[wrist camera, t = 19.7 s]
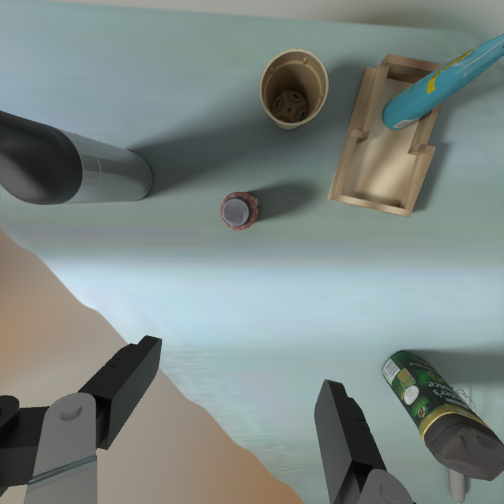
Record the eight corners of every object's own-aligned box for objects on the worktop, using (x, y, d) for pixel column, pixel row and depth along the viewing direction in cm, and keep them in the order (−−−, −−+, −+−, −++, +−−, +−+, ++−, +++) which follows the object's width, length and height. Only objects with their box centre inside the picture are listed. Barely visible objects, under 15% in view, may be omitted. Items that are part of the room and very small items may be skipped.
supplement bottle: (258, 190, 44) (254, 188, 33) (262, 222, 46) (259, 230, 35) (227, 194, 45) (212, 194, 34) (231, 225, 46) (219, 235, 35)
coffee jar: (436, 364, 49) (531, 460, 31) (413, 391, 51) (490, 497, 33) (395, 343, 49) (466, 429, 31) (374, 372, 51) (429, 468, 33)
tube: (409, 84, 38) (541, -23, 19) (425, 110, 38) (569, 30, 20) (368, 118, 39) (453, 49, 21) (384, 142, 40) (482, 96, 21)
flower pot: (262, 79, 40) (259, 49, 32) (319, 78, 40) (331, 46, 31) (261, 140, 42) (258, 126, 34) (315, 139, 42) (325, 125, 33)
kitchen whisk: (440, 498, 58) (460, 533, 51) (426, 379, 51) (447, 404, 45) (467, 495, 57) (491, 532, 51) (457, 375, 50) (483, 400, 44)
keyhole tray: (327, 199, 44) (334, 199, 39) (364, 69, 39) (378, 51, 34) (397, 215, 43) (413, 217, 38) (444, 86, 38) (469, 70, 33)
